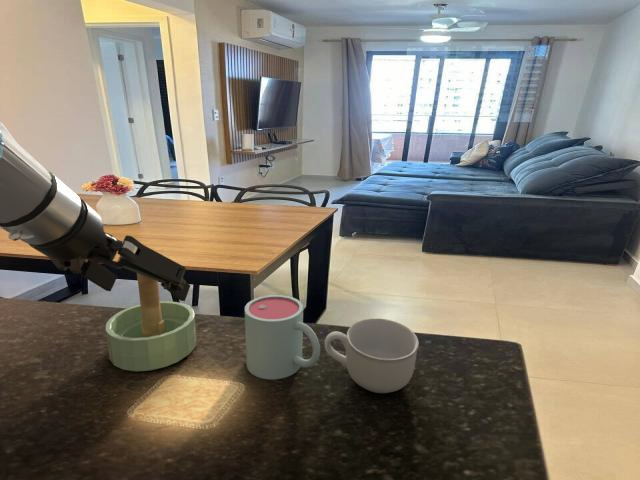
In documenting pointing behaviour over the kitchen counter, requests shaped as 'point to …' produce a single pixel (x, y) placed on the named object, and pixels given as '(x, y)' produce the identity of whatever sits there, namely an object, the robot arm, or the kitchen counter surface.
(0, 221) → the robot arm
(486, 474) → the kitchen counter surface
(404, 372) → the teacup
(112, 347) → the bowl
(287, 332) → the mug
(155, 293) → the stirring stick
